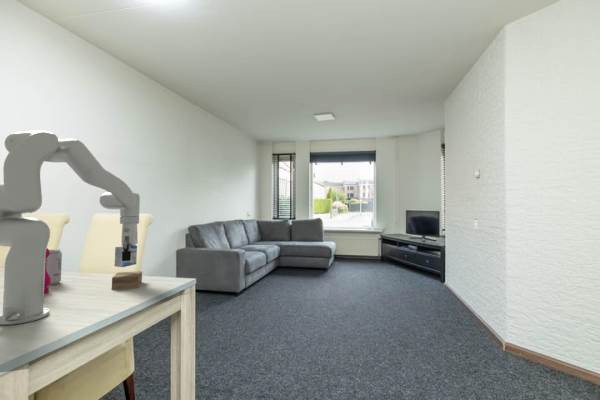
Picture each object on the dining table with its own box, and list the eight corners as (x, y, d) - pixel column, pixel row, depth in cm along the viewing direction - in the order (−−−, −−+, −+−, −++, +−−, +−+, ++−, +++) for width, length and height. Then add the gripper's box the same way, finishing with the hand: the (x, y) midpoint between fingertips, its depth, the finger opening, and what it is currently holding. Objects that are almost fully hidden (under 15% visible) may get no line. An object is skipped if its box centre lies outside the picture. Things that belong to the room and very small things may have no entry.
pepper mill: (49, 289, 125) (51, 241, 126) (51, 293, 120) (53, 243, 121) (26, 292, 120) (28, 242, 121) (26, 296, 115) (29, 244, 116)
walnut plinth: (138, 287, 131) (138, 276, 131) (111, 289, 127) (112, 277, 127) (141, 282, 140) (142, 271, 140) (117, 283, 137) (117, 272, 137)
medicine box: (122, 267, 129) (123, 247, 129) (113, 266, 130) (115, 246, 130) (136, 264, 137) (137, 245, 137) (128, 263, 138) (129, 244, 138)
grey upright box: (57, 284, 132) (59, 250, 133) (40, 285, 130) (42, 251, 131) (62, 281, 138) (64, 249, 138) (46, 282, 136) (48, 249, 136)
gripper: (135, 221, 127) (134, 262, 127) (142, 219, 144) (141, 255, 143) (115, 221, 125) (114, 262, 125) (124, 219, 141) (123, 255, 141)
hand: (128, 258), depth 134 cm, fingers closed on medicine box, 9 cm apart
